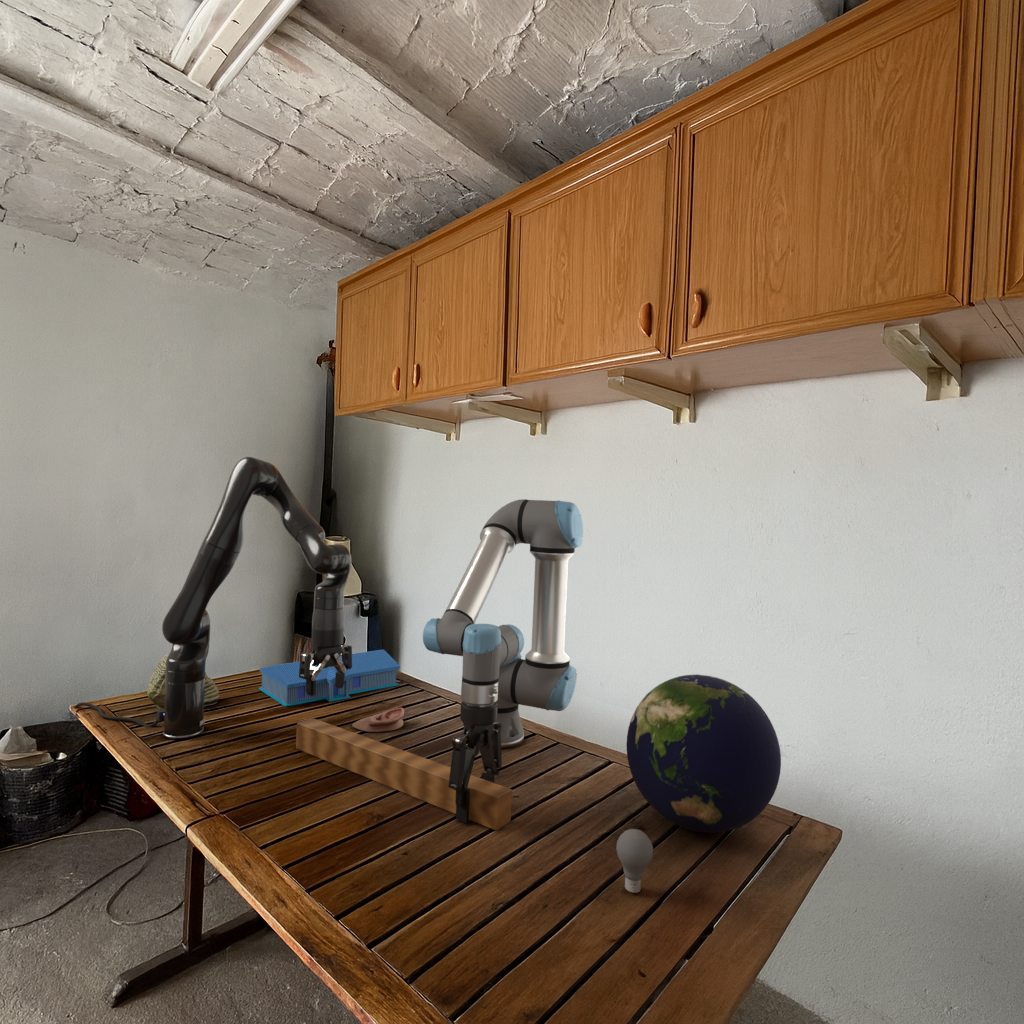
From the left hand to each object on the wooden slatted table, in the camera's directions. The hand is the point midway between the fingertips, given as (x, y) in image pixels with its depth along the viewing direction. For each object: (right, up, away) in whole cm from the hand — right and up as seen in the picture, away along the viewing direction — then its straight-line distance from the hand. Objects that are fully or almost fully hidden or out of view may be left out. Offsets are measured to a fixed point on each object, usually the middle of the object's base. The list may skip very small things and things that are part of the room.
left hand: (325, 691), depth 156 cm
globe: (+84, -20, -27) cm, 90 cm away
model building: (-13, -14, +52) cm, 55 cm away
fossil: (-50, -13, +29) cm, 59 cm away
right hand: (+38, -17, -26) cm, 50 cm away
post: (+19, -17, -13) cm, 28 cm away
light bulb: (+66, -19, -50) cm, 85 cm away
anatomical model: (+9, -15, +20) cm, 27 cm away
